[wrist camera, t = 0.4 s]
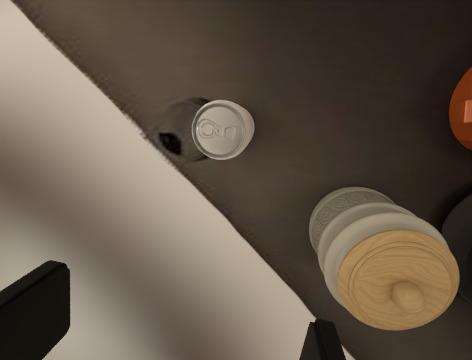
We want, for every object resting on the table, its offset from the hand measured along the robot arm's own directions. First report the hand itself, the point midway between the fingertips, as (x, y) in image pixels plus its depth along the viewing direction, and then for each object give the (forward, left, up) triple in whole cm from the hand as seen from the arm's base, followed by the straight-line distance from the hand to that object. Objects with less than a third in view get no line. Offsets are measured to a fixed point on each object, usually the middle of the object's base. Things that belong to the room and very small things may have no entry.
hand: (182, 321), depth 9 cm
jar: (+6, +17, -30) cm, 35 cm away
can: (-6, -3, -30) cm, 31 cm away
